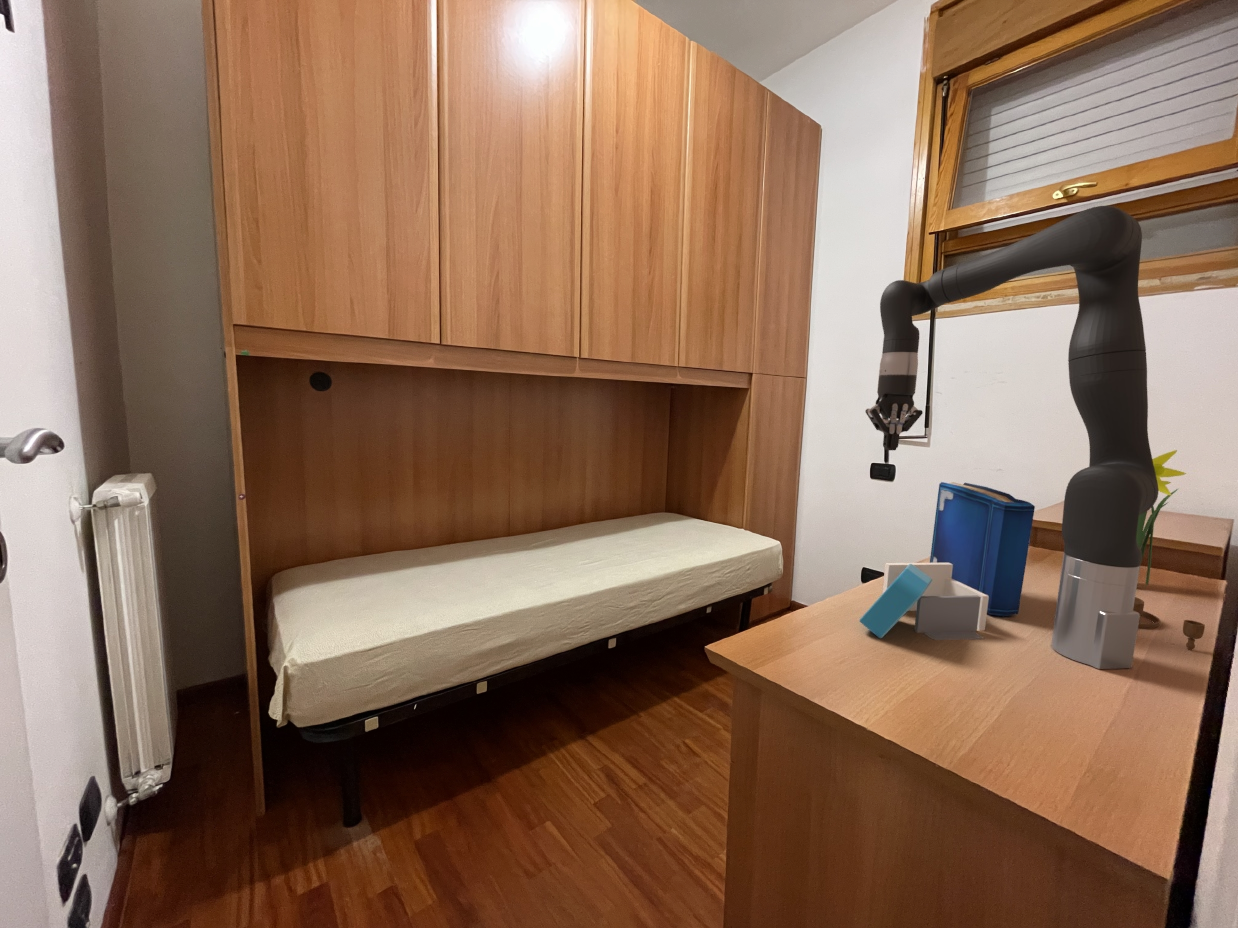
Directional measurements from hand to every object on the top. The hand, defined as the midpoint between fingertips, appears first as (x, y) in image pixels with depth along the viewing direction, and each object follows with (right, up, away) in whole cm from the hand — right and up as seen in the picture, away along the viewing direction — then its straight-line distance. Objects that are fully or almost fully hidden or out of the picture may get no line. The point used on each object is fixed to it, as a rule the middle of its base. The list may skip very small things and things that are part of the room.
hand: (890, 450), depth 113 cm
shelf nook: (0, -35, -16) cm, 38 cm away
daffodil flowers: (+61, -33, +8) cm, 70 cm away
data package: (-13, -34, -19) cm, 41 cm away
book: (+16, -34, -4) cm, 37 cm away
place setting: (+39, -36, -15) cm, 55 cm away
